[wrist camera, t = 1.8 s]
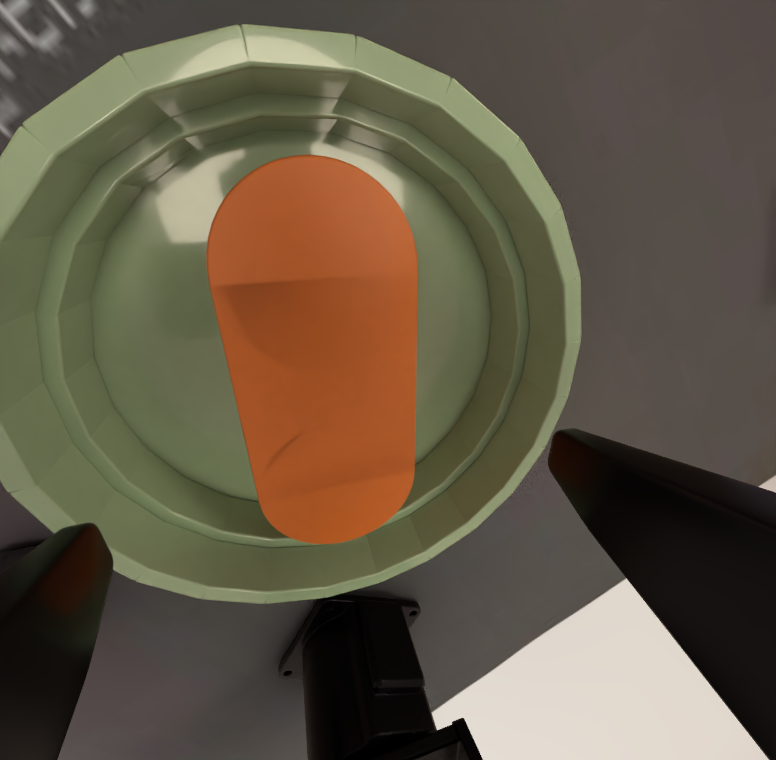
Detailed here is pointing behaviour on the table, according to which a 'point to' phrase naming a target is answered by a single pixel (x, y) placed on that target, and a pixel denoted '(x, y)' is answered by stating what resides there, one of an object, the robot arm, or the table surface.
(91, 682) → the table surface
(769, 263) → the table surface
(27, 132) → the bowl
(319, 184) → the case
